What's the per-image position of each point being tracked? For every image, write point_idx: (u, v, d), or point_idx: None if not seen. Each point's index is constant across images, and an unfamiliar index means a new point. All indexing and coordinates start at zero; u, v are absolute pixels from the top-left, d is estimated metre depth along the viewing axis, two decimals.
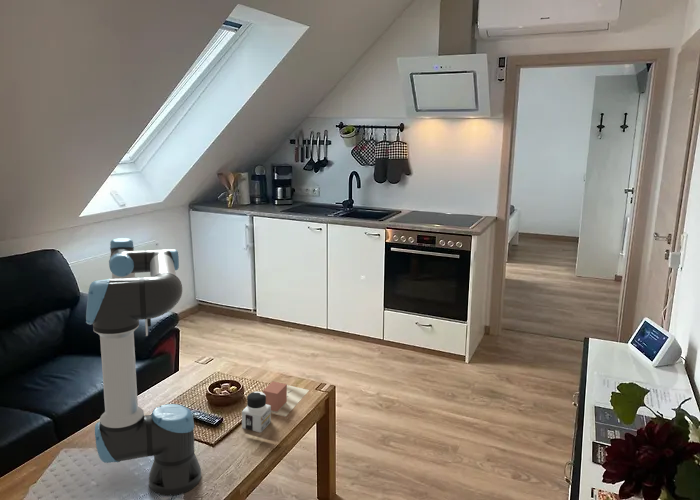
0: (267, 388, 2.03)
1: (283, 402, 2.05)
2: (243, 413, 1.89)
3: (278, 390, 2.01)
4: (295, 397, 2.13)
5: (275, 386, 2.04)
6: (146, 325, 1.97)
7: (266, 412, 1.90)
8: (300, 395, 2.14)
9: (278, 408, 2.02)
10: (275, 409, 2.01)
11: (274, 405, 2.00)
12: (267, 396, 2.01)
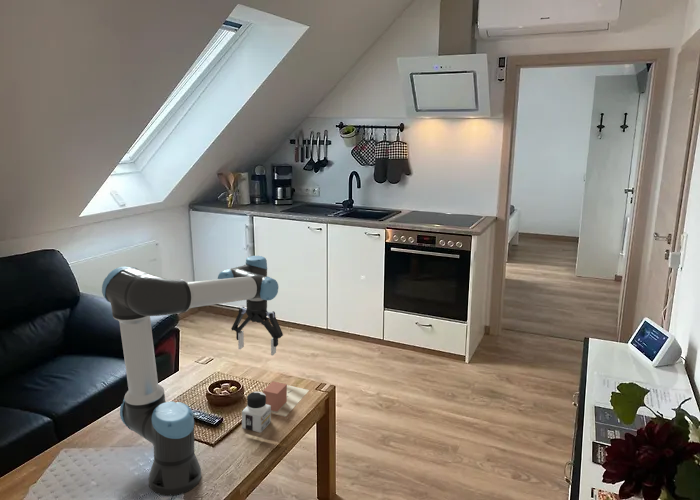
0: (267, 388, 2.03)
1: (283, 402, 2.05)
2: (243, 413, 1.89)
3: (278, 390, 2.01)
4: (295, 397, 2.13)
5: (275, 386, 2.04)
6: (271, 345, 1.98)
7: (266, 412, 1.90)
8: (300, 395, 2.14)
9: (278, 408, 2.02)
10: (275, 409, 2.01)
11: (274, 405, 2.00)
12: (267, 396, 2.01)
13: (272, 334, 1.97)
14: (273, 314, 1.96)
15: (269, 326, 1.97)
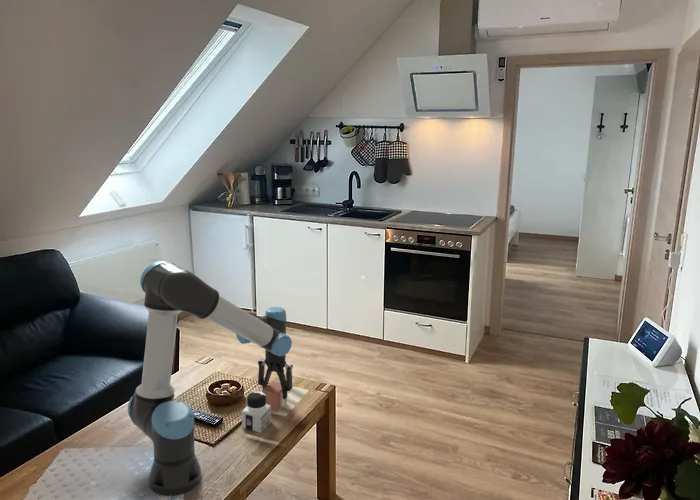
0: (267, 388, 2.02)
1: None
2: (243, 413, 1.89)
3: (278, 390, 2.01)
4: (295, 397, 2.13)
5: (275, 386, 2.04)
6: (281, 397, 2.02)
7: (266, 412, 1.90)
8: (300, 395, 2.14)
9: (278, 408, 2.01)
10: (275, 409, 2.01)
11: (273, 405, 2.00)
12: (267, 396, 2.01)
13: (283, 387, 2.01)
14: (291, 368, 1.99)
15: (283, 378, 2.01)
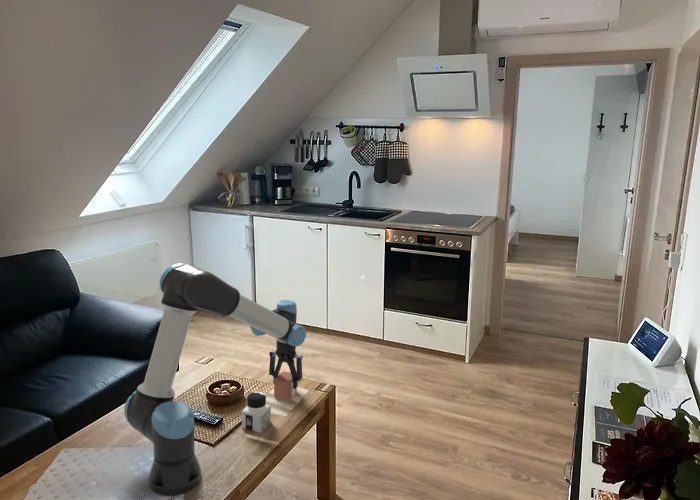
0: (278, 377, 2.11)
1: None
2: (243, 413, 1.89)
3: (288, 379, 2.10)
4: (295, 397, 2.13)
5: (286, 375, 2.13)
6: (291, 387, 2.10)
7: (266, 412, 1.90)
8: (300, 395, 2.14)
9: (289, 396, 2.10)
10: (286, 397, 2.09)
11: (284, 393, 2.09)
12: (278, 385, 2.09)
13: (293, 377, 2.09)
14: (301, 359, 2.08)
15: (293, 369, 2.09)
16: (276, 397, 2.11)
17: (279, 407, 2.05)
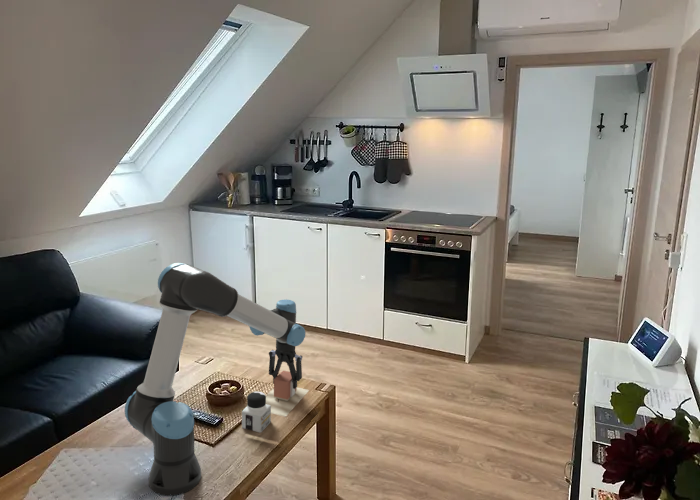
0: (278, 377, 2.10)
1: None
2: (243, 413, 1.89)
3: (288, 379, 2.09)
4: (295, 397, 2.13)
5: (286, 375, 2.12)
6: (291, 387, 2.09)
7: (266, 412, 1.90)
8: (300, 395, 2.14)
9: (288, 396, 2.09)
10: (286, 397, 2.09)
11: (284, 393, 2.08)
12: (278, 384, 2.08)
13: (293, 377, 2.08)
14: (300, 359, 2.07)
15: (293, 368, 2.09)
16: (276, 397, 2.10)
17: (279, 407, 2.05)
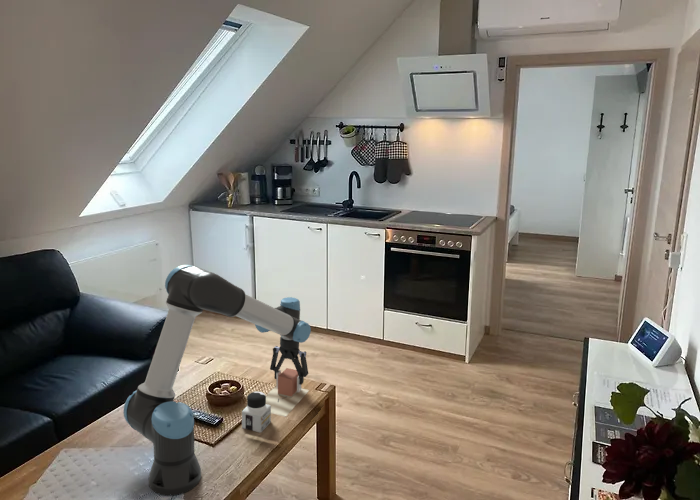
0: (282, 374, 2.14)
1: None
2: (243, 413, 1.89)
3: (292, 376, 2.13)
4: (295, 397, 2.13)
5: (290, 372, 2.16)
6: (297, 383, 2.12)
7: (266, 412, 1.90)
8: (300, 395, 2.14)
9: (292, 393, 2.13)
10: (289, 394, 2.12)
11: (288, 390, 2.12)
12: (282, 382, 2.12)
13: (299, 373, 2.11)
14: (305, 355, 2.10)
15: (298, 365, 2.12)
16: (280, 394, 2.14)
17: (279, 407, 2.05)
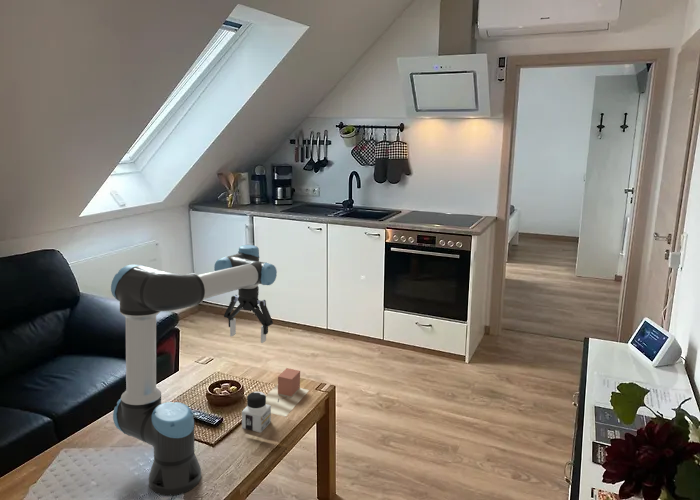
0: (282, 374, 2.14)
1: (297, 388, 2.17)
2: (243, 413, 1.89)
3: (292, 376, 2.13)
4: (295, 397, 2.13)
5: (290, 372, 2.16)
6: (261, 332, 2.03)
7: (266, 412, 1.90)
8: (300, 395, 2.14)
9: (292, 393, 2.13)
10: (289, 394, 2.12)
11: (288, 390, 2.12)
12: (282, 382, 2.12)
13: (262, 322, 2.02)
14: (264, 302, 2.02)
15: (259, 314, 2.03)
16: (280, 394, 2.14)
17: (279, 407, 2.05)
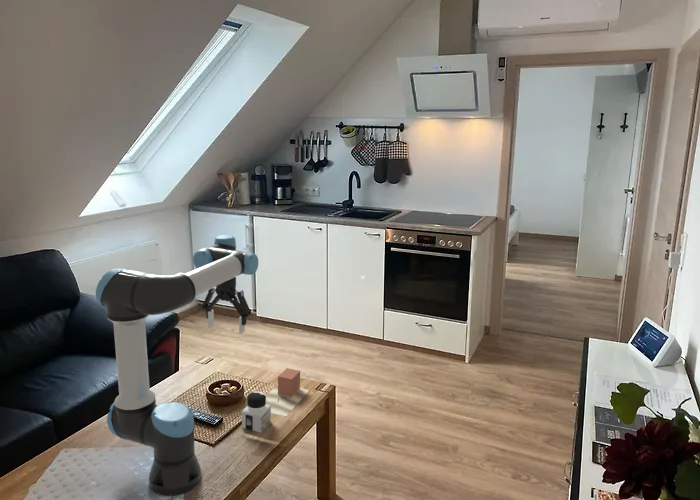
0: (282, 374, 2.14)
1: (297, 388, 2.17)
2: (243, 413, 1.89)
3: (292, 376, 2.13)
4: (295, 397, 2.13)
5: (290, 372, 2.16)
6: (240, 323, 2.01)
7: (266, 412, 1.90)
8: (300, 395, 2.14)
9: (292, 393, 2.13)
10: (289, 394, 2.12)
11: (288, 390, 2.12)
12: (282, 382, 2.12)
13: (240, 313, 2.00)
14: (241, 293, 2.00)
15: (237, 305, 2.01)
16: (280, 394, 2.14)
17: (279, 407, 2.05)
